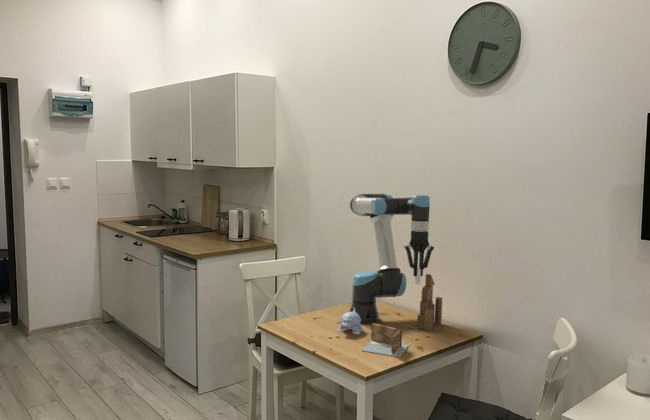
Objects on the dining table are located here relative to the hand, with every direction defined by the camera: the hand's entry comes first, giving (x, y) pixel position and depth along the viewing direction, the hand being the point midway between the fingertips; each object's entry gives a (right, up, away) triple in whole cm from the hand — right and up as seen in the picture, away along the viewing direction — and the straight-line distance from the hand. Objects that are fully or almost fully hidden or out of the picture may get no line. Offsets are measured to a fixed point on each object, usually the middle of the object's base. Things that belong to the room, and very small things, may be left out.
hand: (417, 283), depth 236 cm
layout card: (-16, -25, -13) cm, 32 cm away
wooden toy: (+9, -23, +20) cm, 32 cm away
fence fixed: (-11, -26, -16) cm, 32 cm away
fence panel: (-16, -24, -7) cm, 30 cm away
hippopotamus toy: (-30, -23, +9) cm, 39 cm away
